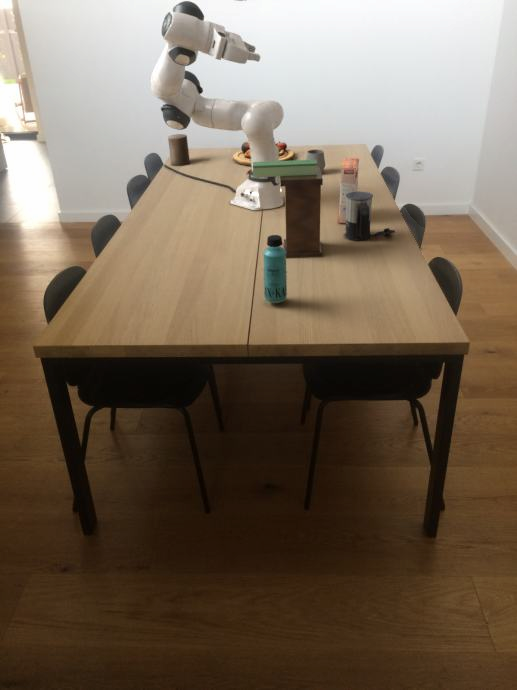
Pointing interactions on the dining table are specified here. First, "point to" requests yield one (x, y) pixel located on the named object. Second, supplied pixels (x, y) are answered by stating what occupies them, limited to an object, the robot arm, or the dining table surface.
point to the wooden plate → (245, 155)
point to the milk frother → (360, 216)
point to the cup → (317, 158)
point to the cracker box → (347, 184)
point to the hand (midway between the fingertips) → (257, 54)
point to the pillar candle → (178, 149)
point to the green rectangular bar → (284, 168)
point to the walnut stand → (302, 215)
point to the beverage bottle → (275, 270)
